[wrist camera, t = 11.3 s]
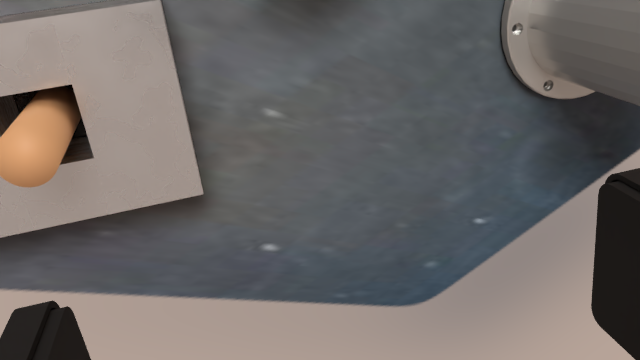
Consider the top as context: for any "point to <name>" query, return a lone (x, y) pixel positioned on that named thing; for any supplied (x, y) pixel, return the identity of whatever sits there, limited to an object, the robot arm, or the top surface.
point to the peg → (39, 137)
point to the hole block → (99, 111)
